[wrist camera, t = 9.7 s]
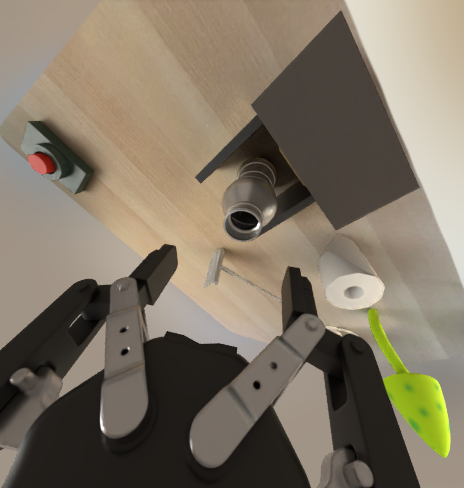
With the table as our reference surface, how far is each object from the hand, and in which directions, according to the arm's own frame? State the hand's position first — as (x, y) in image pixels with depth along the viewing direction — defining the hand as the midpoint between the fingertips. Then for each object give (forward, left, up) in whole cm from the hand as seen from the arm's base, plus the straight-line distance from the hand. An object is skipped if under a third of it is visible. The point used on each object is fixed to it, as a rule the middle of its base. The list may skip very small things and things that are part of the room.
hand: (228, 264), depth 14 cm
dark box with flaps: (-3, +3, -26) cm, 26 cm away
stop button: (+2, -41, -22) cm, 47 cm away
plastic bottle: (0, 0, -26) cm, 26 cm away
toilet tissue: (+15, +20, -26) cm, 36 cm away
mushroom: (+29, +33, -26) cm, 51 cm away
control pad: (+2, -41, -26) cm, 48 cm away
